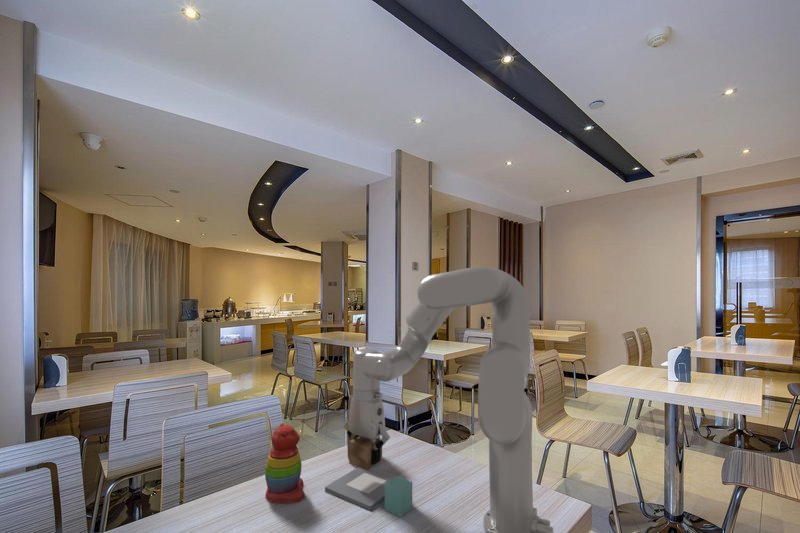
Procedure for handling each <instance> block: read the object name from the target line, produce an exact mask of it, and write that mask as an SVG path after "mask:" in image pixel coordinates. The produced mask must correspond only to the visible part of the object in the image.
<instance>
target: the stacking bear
mask: <svg viewBox="0 0 800 533" xmlns="http://www.w3.org/2000/svg"><path fill="white" fill-rule="evenodd" d="M300 439H301V434H300V433H299V432H298V431H296V430H295V428H294V427H293V426H291V425H289V424H288V425H287V424H286V425H285V424H284V422H283V423H280V425H279V427H277V428H276V429H275V430H274V431H273V432H272V435H271V444H272V447H273V448H272V449H271V450H270V451H269V454H268V456H267V459H266V463H265V469H264V476H265V482H266V487H267V488H266V491H265V498H266V499H265V500H267V501H268V502H271V503H273V504H294V503H298V502H301V501H302V500H304V499H305V496H306V494H305V491H304V490H303V489H302V487H303V486H304V480H303V478H301V474H302V458H301V455H300V454H301V453H300V451H299V448H298V447H297V444H298V443H299V442H300Z"/></svg>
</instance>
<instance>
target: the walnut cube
mask: <svg viewBox="0 0 800 533" xmlns="http://www.w3.org/2000/svg"><path fill="white" fill-rule="evenodd" d="M375 440H376V439H375ZM376 444H377V440H376ZM372 449H373V446H372V443H371V440H370V439H368V438H365V437H362V436H359V437H357V438H355V439H353V440H351V441H349V459H348V464H349V465H352V466H354V467H356V468H358V467H360V468H362V469H365V470H369V469H370V468H372V467H373V468H374V467H375V466H376V465H378V464H380V463H381V462H383V446H382V447H381V458H380V461H379V462H378V463H376V464H375V465H372V464H371V456H372Z"/></svg>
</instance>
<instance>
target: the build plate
mask: <svg viewBox="0 0 800 533" xmlns="http://www.w3.org/2000/svg"><path fill="white" fill-rule="evenodd" d="M396 476H397V477H400V478H403V479H405V480H407V478H404V477H402V476H398V475H396V474H392V473H390V472H388V471H387V472H386V471H384V470H381V469H378V468H375V467H374V466H373V467H372V468H370V469H369V470H365V469H362V468H360V467H356V468H354V469H352V470H351V471H349V472H347V473H346V474H344V475H342V476H341V477H339V478H338V479H336V480H334V481H333V482H331V483H329V484H328V485H326V486H325V487H324V492H327V493H328V494H331V495H334V496H336V497H337V498H341V499H343V500H345V501H346V502H349V503H352V504H353V505H356V506H359V507H362V508H363V509H366V510H368V511H372V510H373V509H375V508H376V507H377V506H379V505H380V504H381V503H382V502H383V501H384V502H385V484H386V483H388V482H389V481H390V480H392V479H393V478H394V477H396Z"/></svg>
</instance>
